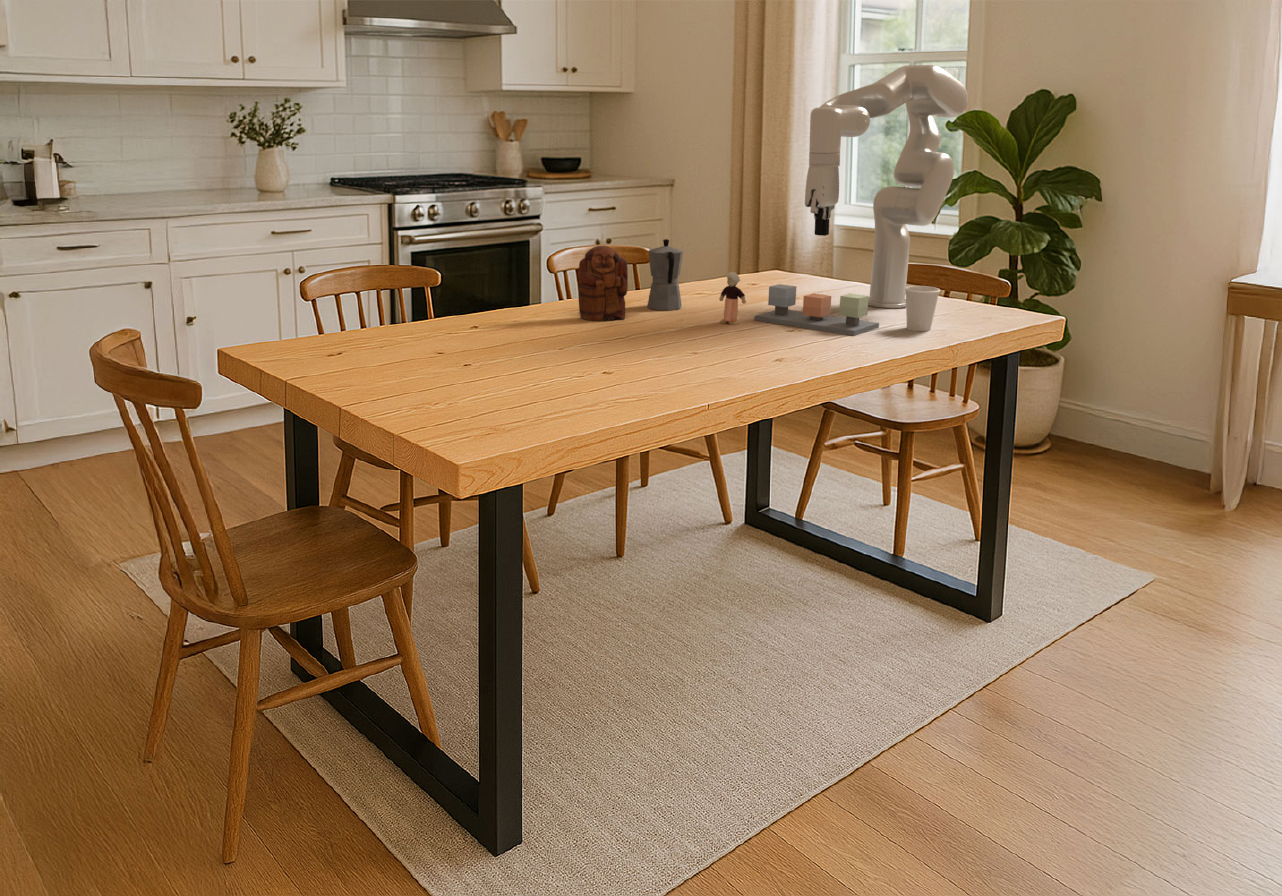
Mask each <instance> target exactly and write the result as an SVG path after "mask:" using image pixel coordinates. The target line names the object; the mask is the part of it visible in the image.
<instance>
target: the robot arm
mask: <svg viewBox="0 0 1282 896" xmlns="http://www.w3.org/2000/svg"><path fill="white" fill-rule="evenodd" d="M968 102H969V94H968V91H967V89H966V87H965V86H964V84H963V83H962V82H961V81H959V80H958V79H956V78H955V77H954V76H953V75H952V74H951V73H949V72H948V71H946V70H944V69H943V68H942V67H940V66H938V65H934V64H908V65H903V66H900V67H898V68H897V69H895V70H893V71H892V72H889V73H888V74H887V75H885V76H884V77H882V78H881V79H878V80H877V81H875V82H873V83H872V84H867V85H865V86H862V87H859V88H856V89H853V90H850V91H847V92H844V93H840V94H838V95H836V96H834V97H832V98H831V99H829V100H827V101H826V102H824V103H823V104H821V105H820V106H819V107H814V108H813V109H812V110H811V111H810V117H809V119H810V120H809V123H810V124H809V148H808V149H809V152H808V153H809V154H808V169H807V174H806V180H805V181H806V182H805V190H804V193H805V194H804V206H805V207H806V208H810V210H809V211H810V213H811V214H813V217H814V218H813V219H814V235H815V236H821V237H822V236H823V237H824V236H825V237H827V236H829V234H830V220H831V219H830V218H831V215H832V211H833V210H834V209H835V206H836V204H837V203H838V202H839V196H840V172H839V169H840V168H839V167H840V166H841V163H840V162H841V146H842V145H841V143H842V142H841V141H842V140H841V139H842V137H843V138H857V137H860V136H862V135H863V134H864V133H866V131H867V130H868V129H869V127H870V125H871V124H870V122H871V119H874V118H879V117H883V116H887V115H889V114H891V113H892V112H893V111H895V110H897V109H898V108H899V107H901V106H902V105H905V108H906V111H907V115H908V121H909V132H908V133H909V134H908V137H907V139H906V142H905V144H904V146H903V149H902V151H901V153H900V156H899V157H898V160H897V161H896V164H895V167H894V169H893V170H894V171H893V178H894V181H895V182H896V183H897V184H899V185H901V186H895V185H894V186H886V187H883V188H881V189H879V191H878V192H876V194H875V196H874V198H873V205H872V209H873V218H874V241H873V253H872V263H871V273H870V274H871V275H870V287H869V298H868V307H869V306H870V307H875V308H884V309H899V308H901V309H902V308H906V290H905V288H906V287H907V282H908V281H907V278H908V270H909V258H910V248H911V238H910V237H911V236H910V233H909V231H908V228H907V226H906V225H909V226H917V227H918V226H920V227H924V226H928V225H929V224H932V222H933V221H934V220H935V219H936V217H937V215H938V213H939V211H940V209H941V207H942V205H943V203H944V201H945V198H946V196H947V194H948V191H949V188H950V187H951V184H952V182H953V179H954V173H955V165H954V161H953V159H952V157H951V156H950V155H949V154H948V153H945V152H942V151H941V152H940V151H938V149H939V146H940V143H941V132H940V131H939V127H938V125H937V123H936V121H935V118H954V117H958V116H961V115H962V114H963V113H964V112H965V111H966V109H967V107H968Z"/></svg>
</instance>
